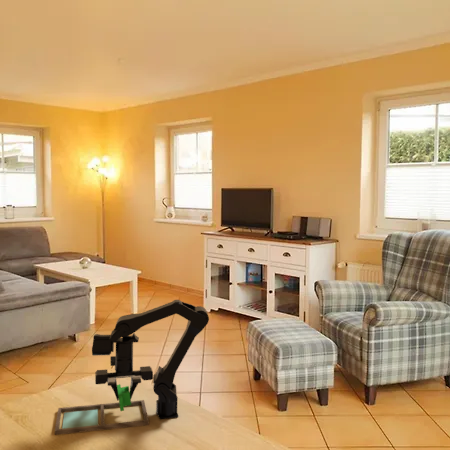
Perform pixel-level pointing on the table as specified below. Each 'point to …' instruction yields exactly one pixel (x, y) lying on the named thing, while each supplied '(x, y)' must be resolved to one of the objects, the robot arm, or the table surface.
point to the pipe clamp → (123, 396)
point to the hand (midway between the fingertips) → (124, 399)
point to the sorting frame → (93, 418)
